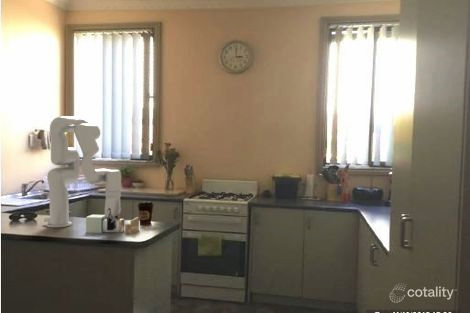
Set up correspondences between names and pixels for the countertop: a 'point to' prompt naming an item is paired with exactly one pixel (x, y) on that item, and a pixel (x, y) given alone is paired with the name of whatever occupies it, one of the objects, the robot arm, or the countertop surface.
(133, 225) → the beige block
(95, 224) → the pale green cube
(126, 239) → the countertop surface
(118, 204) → the robot arm
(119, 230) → the white rectangular block
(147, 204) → the coffee cup
